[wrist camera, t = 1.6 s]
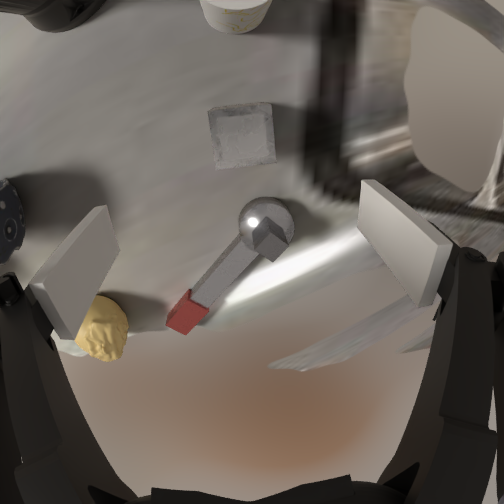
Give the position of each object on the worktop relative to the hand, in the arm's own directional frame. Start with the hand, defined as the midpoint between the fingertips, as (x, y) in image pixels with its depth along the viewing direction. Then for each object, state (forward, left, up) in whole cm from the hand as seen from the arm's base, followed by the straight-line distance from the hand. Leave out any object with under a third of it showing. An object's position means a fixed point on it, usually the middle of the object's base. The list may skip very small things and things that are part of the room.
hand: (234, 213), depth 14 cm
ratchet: (+22, +3, -27) cm, 34 cm away
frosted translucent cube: (-1, +1, -27) cm, 27 cm away
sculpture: (+37, -18, -27) cm, 49 cm away
